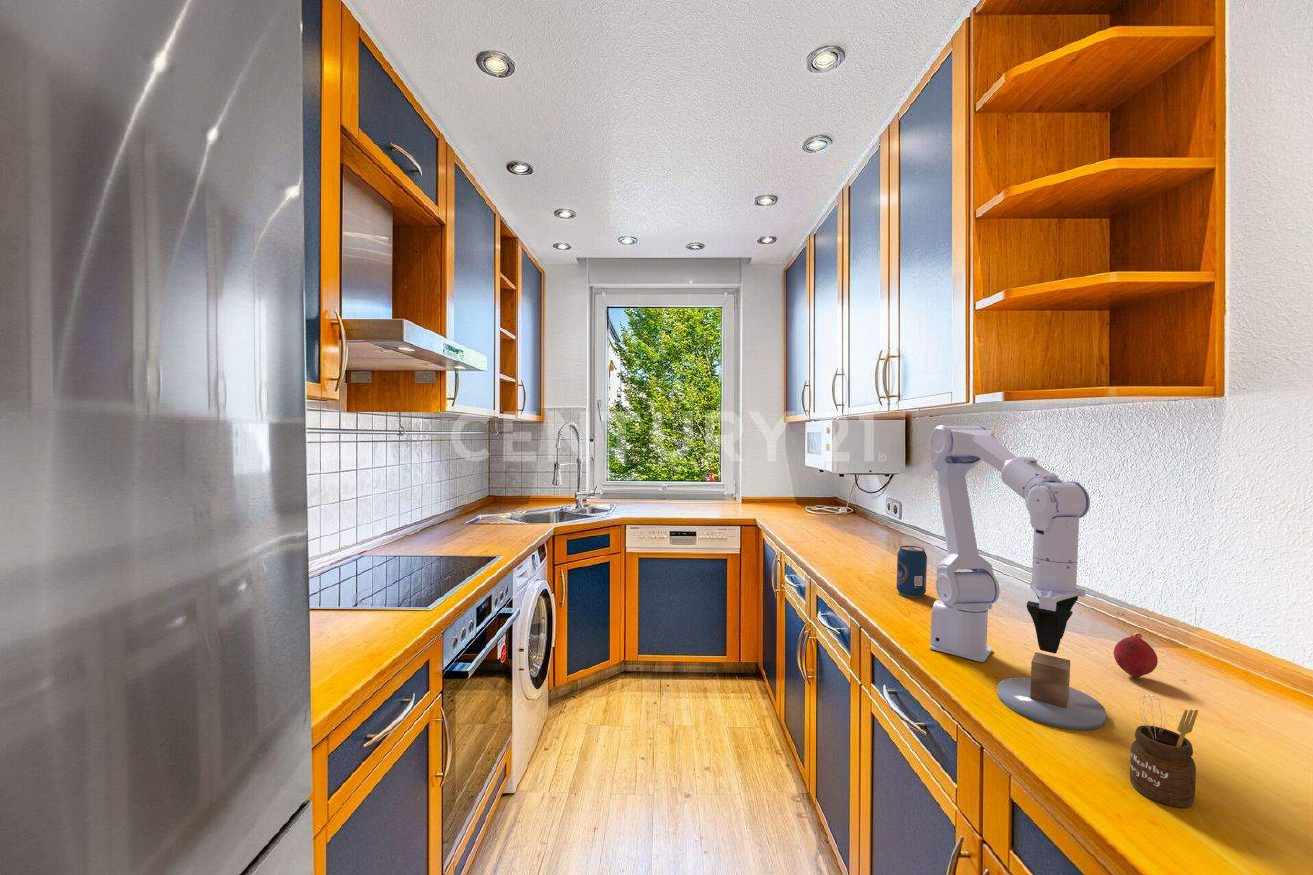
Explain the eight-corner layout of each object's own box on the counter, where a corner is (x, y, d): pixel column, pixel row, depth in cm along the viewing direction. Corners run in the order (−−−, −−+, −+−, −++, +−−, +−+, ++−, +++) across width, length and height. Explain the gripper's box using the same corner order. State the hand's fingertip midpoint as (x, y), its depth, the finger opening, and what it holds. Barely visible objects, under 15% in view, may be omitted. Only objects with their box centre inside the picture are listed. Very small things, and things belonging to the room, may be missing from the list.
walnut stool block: (1030, 698, 88) (1031, 661, 88) (1034, 687, 92) (1035, 652, 91) (1066, 708, 85) (1067, 670, 85) (1068, 697, 89) (1070, 660, 88)
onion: (1139, 687, 95) (1142, 640, 95) (1104, 671, 101) (1106, 628, 100) (1164, 682, 97) (1166, 637, 96) (1128, 668, 102) (1130, 625, 102)
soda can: (891, 589, 147) (892, 544, 147) (916, 589, 148) (918, 544, 147) (904, 598, 140) (906, 551, 140) (931, 598, 141) (932, 551, 140)
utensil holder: (1161, 776, 71) (1165, 683, 71) (1211, 811, 65) (1216, 709, 64) (1116, 776, 71) (1120, 683, 71) (1162, 811, 65) (1167, 710, 64)
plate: (989, 706, 88) (989, 699, 88) (1006, 676, 98) (1006, 669, 98) (1103, 741, 79) (1103, 733, 79) (1108, 703, 89) (1108, 696, 89)
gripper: (1082, 572, 80) (1078, 666, 80) (1090, 554, 91) (1086, 637, 91) (1024, 563, 84) (1020, 652, 85) (1037, 547, 95) (1035, 625, 96)
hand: (1051, 643), depth 88 cm, fingers open, 7 cm apart
